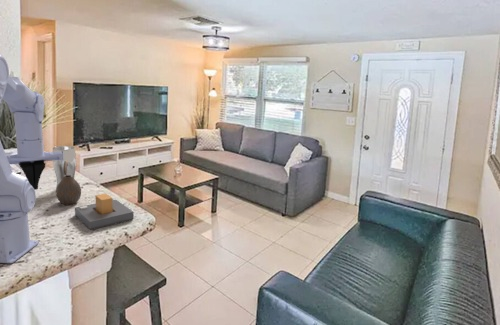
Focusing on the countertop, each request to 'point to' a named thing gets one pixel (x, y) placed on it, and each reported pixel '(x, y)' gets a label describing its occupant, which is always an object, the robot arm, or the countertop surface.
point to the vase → (68, 190)
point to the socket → (103, 215)
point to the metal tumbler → (65, 162)
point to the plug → (104, 204)
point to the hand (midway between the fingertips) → (33, 188)
